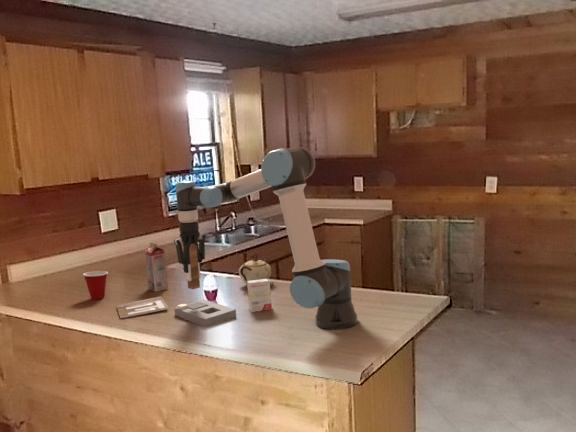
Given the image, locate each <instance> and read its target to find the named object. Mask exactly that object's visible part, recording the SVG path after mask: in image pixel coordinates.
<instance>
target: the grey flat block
mask: <svg viewBox="0 0 576 432" xmlns="http://www.w3.org/2000/svg"><path fill="white" fill-rule="evenodd" d="M210 313H211V314H210ZM174 316H177V317H179V318H182V319H184V320H187V321H189V322H192V323H195V324H197V325H199V326H202V327H205V328H206V327H210V326H214V325H216V324H219V323H222V322H226V321H229V320H231V318H232V319H235V318H237V309H235V308H232V307H229V306H226V305H223V304H220V303H216V302H213V301H211V300H207V299H201V300H198V301H194V302H191V303H187V304H186V303H181V304H178V305H177V306H176V307H174ZM234 317H235V318H234ZM228 319H229V320H228ZM225 320H226V321H225Z"/></svg>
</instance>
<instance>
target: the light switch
mask: <svg viewBox="0 0 576 432" xmlns="http://www.w3.org/2000/svg"><path fill="white" fill-rule="evenodd" d="M154 304H155V305H154ZM116 308H117V312H118V314H119V317H120V319H121V320H122V319H126V318H131V317H137V316H141V315H147V314H151V313H156V312H162V311H166V310H168V309H169V305H167V303H166V302H165V300H164V299H163V297H162V296H157V297H150V298H147V299H141V300H135V301H131V302H129V301H128V302H126V303H120V304H116ZM120 308H125V310H126V311H128V312H127V314H126V315H121V314H120V310H119V309H120ZM130 310H133V311H130Z"/></svg>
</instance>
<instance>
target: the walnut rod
mask: <svg viewBox="0 0 576 432" xmlns="http://www.w3.org/2000/svg"><path fill="white" fill-rule="evenodd" d="M185 245H186V244H185ZM188 264H190V267H191V279H192V281H188V280H186V281H187V288H188V289H190V290H196V289H199V288H201V281H200V279H199V269H198V257H197V245H195V243H193V244H190V247H189V263H188Z"/></svg>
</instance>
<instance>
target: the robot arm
mask: <svg viewBox="0 0 576 432" xmlns="http://www.w3.org/2000/svg"><path fill="white" fill-rule="evenodd" d="M315 168H316V159H315V157H314V155H313V153H312V152H311V151H310V150H308V149H307V148H306V147H299V146H298V147H297V146H296V147H285V148H278V149H274V150H271V151H269V152H268V153H267V154H266V155H265V156H264V158H263V160H262V161H261V166H260V169H258V170H256V171H253V172H250V173H248V174H247V173H246V174H245V175H242V176H240V177H237V178H235V179H233V180H230V181H228V182H225V183H220V184H219V183H218V184H214V185H208V186H196V182H195V181H194V180H185V181H177V183H176V184H175V196H176V206H177V215H178V221H179V223H178V230H179V237H178V238H175V239H174V240H173V242H174V245H175V248H176V256H177V261H178V264H179V265H180V264H181V265H182V266H183V273H185V279H186V281H187V280H188V281H192V279H191V267H190V264H188V263H189V247H190V244H193V243H195V245H197V257H198V269H199V280H200V279H201V270H202V262H203V261H204V260H205V258H206V250H205V249H206V248H205V245H206V244H205V241H206V235H205V234H201V233H200V231H199V229H200V226H199V221H198V220H199V213H198V207H203V208H204V207H205V208H206V207H207V208H215V207H218V206H219V205H220V204H226V203H232V202H236V201H238V200H240V199H241V198H243V197H247V196H250V195H252V194H255V193H257V192H260V191H263V190H266V189H269V188H271V189H272V193H274V194H275V195H276V196H277V197H278V199H279V203H280V204H279V205H280V208H281V211H282V216H283V220H284V221H283V222H284V225H285V230H286V232H287V233H286V234H287V237H288V240H289V246H290V250H291V253H292V258H293V261H294V266H293V268H292V269H291V272H292V278H293V279H292V280H291V283H290V284H289V293H290V297H292V299H293V301H294V302H295V303H296V304H297V305H299V306H300V307H302V308H304V309H314V308H316V307H317V309H316V310H317V311H316V315H315V317H314V318H315V325H316V326H317V327H319V328H321V329H326V330H342V329H349V328H352V327H353V326H356V325H357V324H358V314H357V313H356V311H355V310H356V309H355V307H354V304H353V301H352V282H351V281H352V279H351V266H350V263H349V261H347V260H343V259H332V258H331V259H321V258H320V254H319V250H318V246H317V243H316V238H315V233H314V230H313V226H312V225H313V224H312V221H311V217H310V212H309V208H308V205H307V201H306V196H305V192H304V189H305V187H306V186H307V181H306V180H307V179H308V178H310V177H311V176H312V175H313V173H314V171H315ZM185 244H186V245H185ZM188 281H187V282H188Z"/></svg>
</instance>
